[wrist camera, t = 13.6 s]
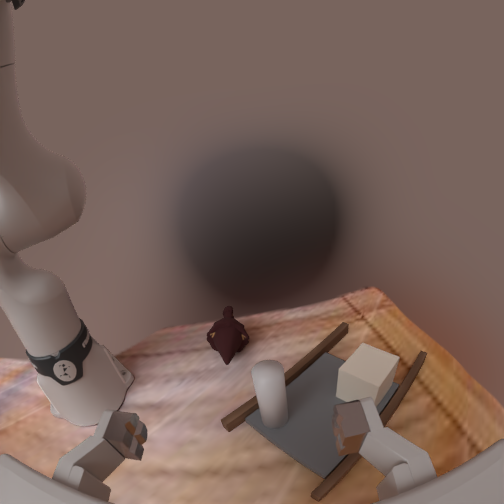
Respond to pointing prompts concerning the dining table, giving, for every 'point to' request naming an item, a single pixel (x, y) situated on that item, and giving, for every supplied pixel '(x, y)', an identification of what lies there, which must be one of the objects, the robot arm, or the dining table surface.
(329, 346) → the rails
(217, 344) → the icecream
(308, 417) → the board
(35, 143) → the robot arm
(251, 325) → the dining table surface
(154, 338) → the dining table surface
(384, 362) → the block
